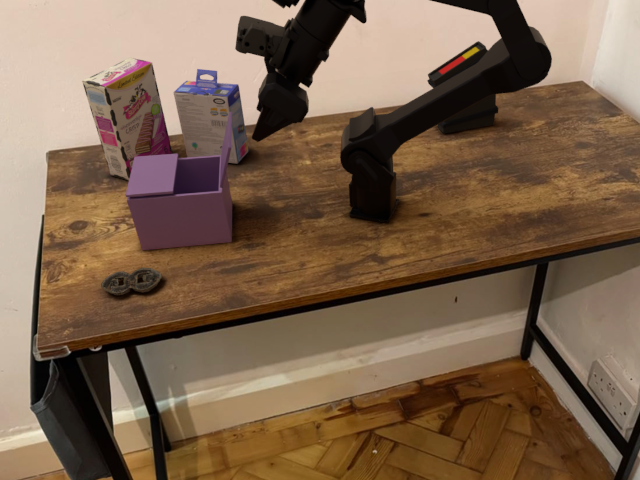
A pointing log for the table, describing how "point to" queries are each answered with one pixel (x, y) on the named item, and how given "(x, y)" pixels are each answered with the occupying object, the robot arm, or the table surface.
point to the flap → (226, 149)
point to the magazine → (476, 113)
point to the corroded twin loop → (132, 281)
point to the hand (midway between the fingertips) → (257, 124)
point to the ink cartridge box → (210, 117)
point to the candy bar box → (127, 114)
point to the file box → (179, 201)
